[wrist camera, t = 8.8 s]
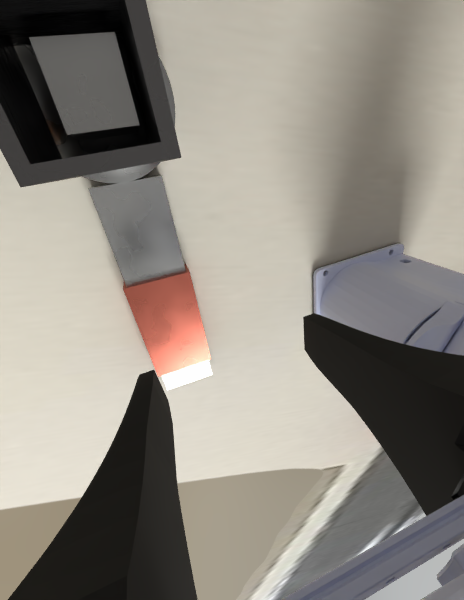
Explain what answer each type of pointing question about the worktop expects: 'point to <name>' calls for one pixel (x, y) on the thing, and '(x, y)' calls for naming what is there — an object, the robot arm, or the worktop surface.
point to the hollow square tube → (27, 112)
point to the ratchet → (123, 188)
